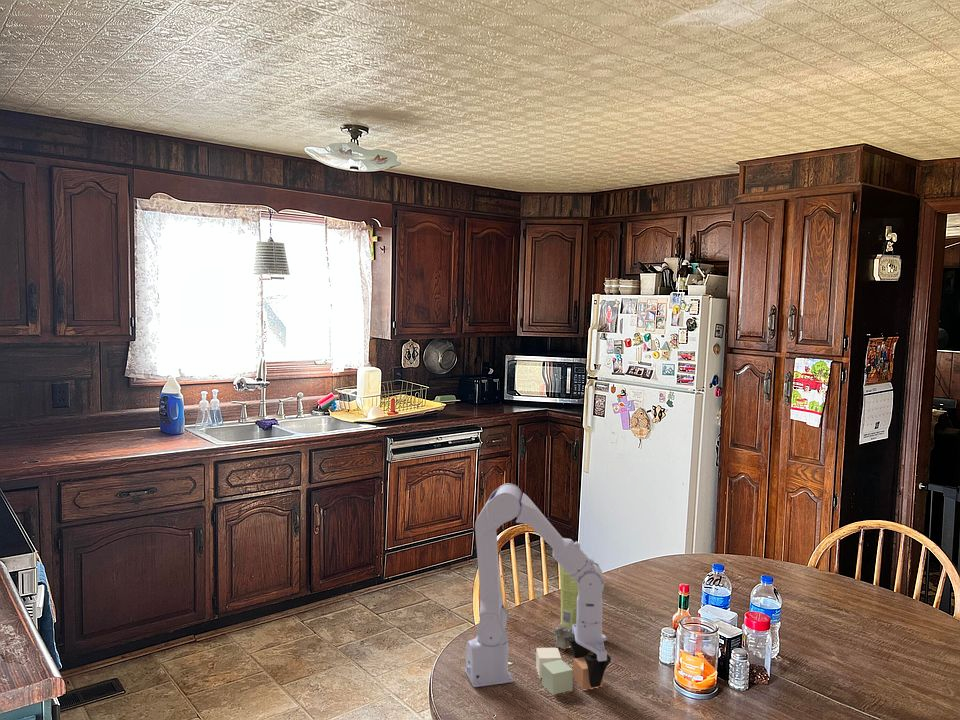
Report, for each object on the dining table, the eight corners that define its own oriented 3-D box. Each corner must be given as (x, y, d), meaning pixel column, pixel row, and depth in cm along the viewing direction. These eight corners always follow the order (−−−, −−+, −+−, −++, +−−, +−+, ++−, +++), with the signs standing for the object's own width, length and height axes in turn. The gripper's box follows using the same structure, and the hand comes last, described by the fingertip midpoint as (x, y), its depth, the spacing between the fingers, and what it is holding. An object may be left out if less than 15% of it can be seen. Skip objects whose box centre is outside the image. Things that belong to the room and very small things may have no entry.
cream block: (539, 679, 164) (539, 658, 164) (536, 668, 169) (536, 648, 169) (561, 679, 165) (561, 657, 164) (557, 668, 170) (557, 647, 169)
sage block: (552, 696, 157) (553, 674, 157) (541, 685, 162) (541, 663, 162) (572, 691, 159) (572, 669, 159) (560, 680, 164) (561, 659, 164)
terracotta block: (582, 691, 160) (582, 669, 159) (573, 679, 164) (573, 658, 164) (602, 688, 161) (603, 666, 161) (593, 676, 166) (593, 655, 165)
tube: (571, 619, 196) (572, 549, 195) (585, 625, 192) (586, 554, 191) (556, 625, 193) (557, 553, 191) (570, 631, 189) (571, 558, 187)
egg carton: (554, 651, 179) (554, 635, 178) (553, 637, 186) (554, 622, 186) (598, 653, 178) (598, 637, 177) (595, 639, 185) (595, 623, 185)
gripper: (620, 630, 156) (619, 691, 157) (592, 604, 170) (590, 659, 171) (590, 634, 154) (589, 695, 155) (564, 607, 168) (563, 663, 169)
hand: (588, 677), depth 163 cm, fingers open, 7 cm apart
